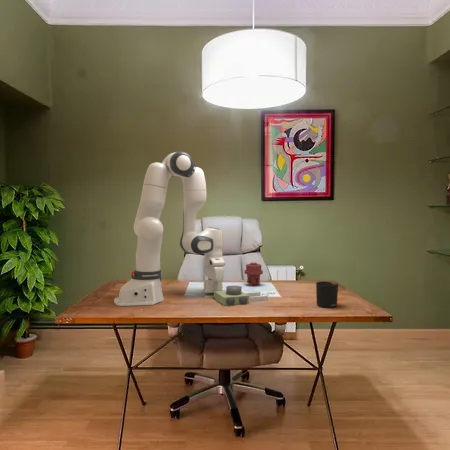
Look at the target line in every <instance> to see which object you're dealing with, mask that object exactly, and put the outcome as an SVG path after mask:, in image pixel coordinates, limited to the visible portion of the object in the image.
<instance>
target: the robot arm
mask: <svg viewBox="0 0 450 450" xmlns="http://www.w3.org/2000/svg"><path fill="white" fill-rule="evenodd" d="M172 177H179V178H180V179H181V181H182V189H183V192H182V193H183V194H182V195H183V211H182V212H183V213H182V233H181V237H180V238H179V246H180V249H181V250H182V251H183V252H185V253H187V254H195V255H203V254H204V266H203V267H204V269H203V274H204V276H206V277H207V280H214V285H213V289H217V286H218V283H219V282H222V283H223V281H224V277H225V276H224V275H225V267H226V261H225V260H224V256H223V246H224V242H223V241H224V240H223V236H224V235H223V232H222V230H221V229H220V228H216V227H211V226H208V227H206V228H205V229H204V230H202V231H201V232H199V233H197V230H196V227H197V226H196V225H197V224H196V222H197V221H196V220H197V218H196V217H197V214H198V212H199V211H200V210H201V209H202V208H203V207H204V206H205V204H206V201H207V183H206V177H205V173H204V171H203V169H202V168H200V167H197V166H196V164H195V162H194V160H193V158H192V157H191V155H190V154H188V153H187V152H185V151H175V152H172V153H169V154H167V155H166V156H165V157H164V158H163V159H162V160H161V161H160V162H157V161H155V162H152V163H150V164H149V165H148V167H147V170H146V172H145V176H144V178H143V185H142V189H141V194H140V200H139V205H138V208H137V212H136V214H135V220H134V223H133V232H134V234H135V236H137V243H136V251H135V270H130V271H129V274H130V275H131V279H129V280H128V281H127V282H126V283H125V284H123V285H122V286H121V287H120V288H119V289H120V290H119V293H118V296H117V297H115V298H114V299H113V303H114V305H116V306H117V307H118V306H120V307H126V306H128V307H131V306H152V305H156V304H157V303H161V302H163V301H164V300H165V297H164V295H163V289H162V279H163V278H162V277H163V276H162V269H161V250H162V242H163V233H164V226H163V223H162V221H161V220H160V218H161V215H162V212H163V209H164V207H165V204H166V197H167V192H168V187H169V181H170V179H171V178H172Z"/></svg>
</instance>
